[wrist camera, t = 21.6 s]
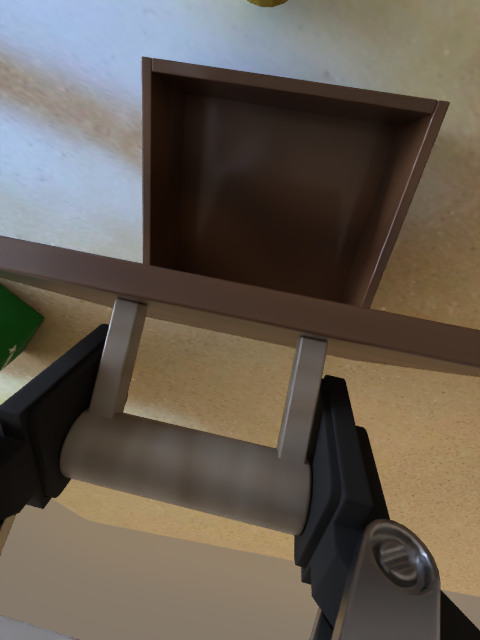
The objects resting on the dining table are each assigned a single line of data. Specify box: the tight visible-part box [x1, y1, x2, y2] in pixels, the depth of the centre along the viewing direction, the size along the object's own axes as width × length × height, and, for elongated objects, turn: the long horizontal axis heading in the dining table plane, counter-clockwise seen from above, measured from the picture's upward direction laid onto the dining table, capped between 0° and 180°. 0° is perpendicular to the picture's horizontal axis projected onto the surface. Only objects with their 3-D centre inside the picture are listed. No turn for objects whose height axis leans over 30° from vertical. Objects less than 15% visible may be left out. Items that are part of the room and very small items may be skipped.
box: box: [141, 57, 450, 308], centre depth 22 cm, size 15×16×7 cm
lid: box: [0, 236, 480, 536], centre depth 14 cm, size 16×16×6 cm
